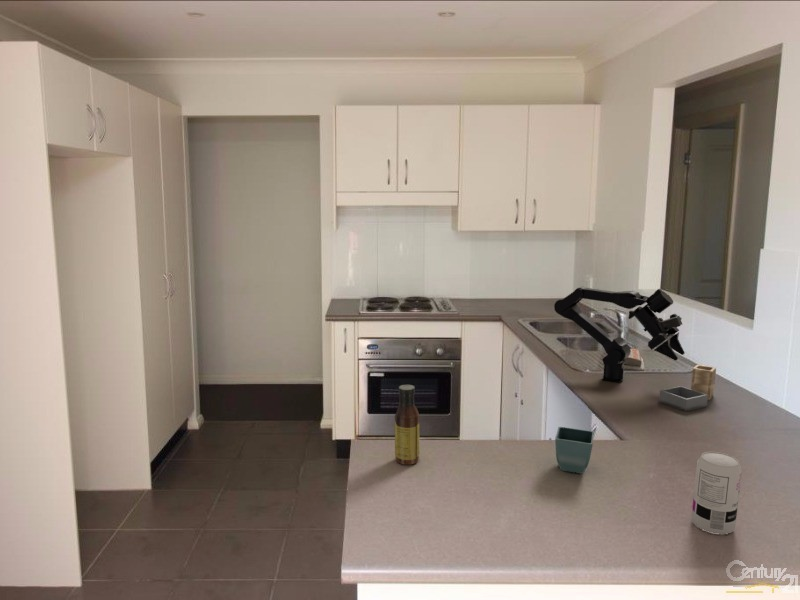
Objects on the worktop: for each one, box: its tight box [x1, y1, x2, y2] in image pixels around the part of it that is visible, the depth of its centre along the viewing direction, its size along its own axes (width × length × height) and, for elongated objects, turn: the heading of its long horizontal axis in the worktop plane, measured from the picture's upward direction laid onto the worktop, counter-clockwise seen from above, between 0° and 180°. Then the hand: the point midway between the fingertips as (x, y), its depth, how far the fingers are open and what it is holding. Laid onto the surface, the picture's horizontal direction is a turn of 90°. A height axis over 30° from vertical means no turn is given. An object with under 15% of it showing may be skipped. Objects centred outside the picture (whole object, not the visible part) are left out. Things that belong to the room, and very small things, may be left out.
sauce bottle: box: [394, 384, 421, 466], centre depth 159 cm, size 6×6×20 cm
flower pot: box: [554, 426, 595, 474], centre depth 157 cm, size 9×9×9 cm
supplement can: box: [691, 451, 743, 534], centre depth 130 cm, size 8×8×15 cm
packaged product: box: [622, 348, 646, 371], centre depth 253 cm, size 18×5×10 cm
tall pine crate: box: [690, 364, 717, 401], centre depth 213 cm, size 6×6×10 cm
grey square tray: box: [658, 385, 709, 412], centre depth 206 cm, size 10×10×4 cm
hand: (680, 356), depth 217 cm, fingers open, 9 cm apart
